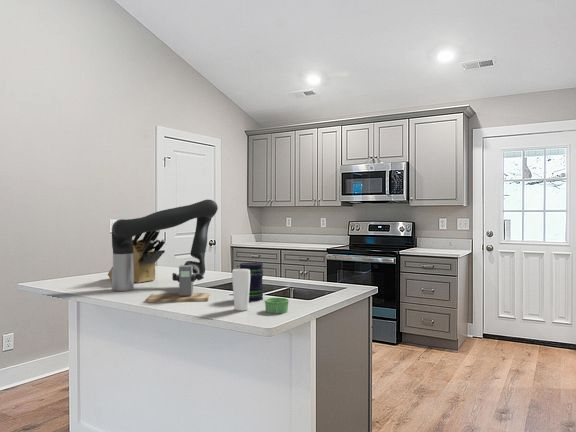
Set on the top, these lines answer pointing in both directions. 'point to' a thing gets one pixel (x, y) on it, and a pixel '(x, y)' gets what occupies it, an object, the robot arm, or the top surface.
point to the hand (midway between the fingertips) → (185, 279)
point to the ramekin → (276, 305)
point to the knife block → (145, 256)
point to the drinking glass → (241, 288)
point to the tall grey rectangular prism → (185, 280)
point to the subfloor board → (177, 297)
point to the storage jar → (255, 280)
